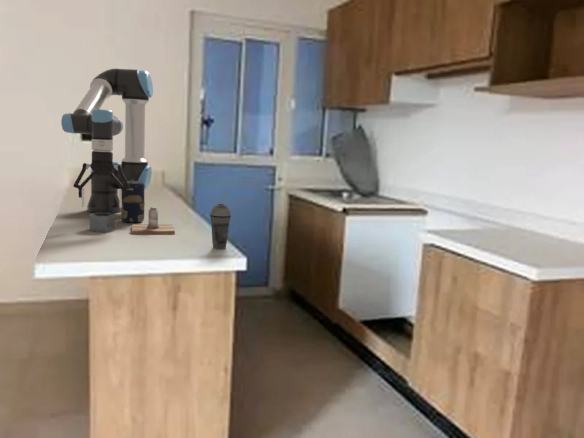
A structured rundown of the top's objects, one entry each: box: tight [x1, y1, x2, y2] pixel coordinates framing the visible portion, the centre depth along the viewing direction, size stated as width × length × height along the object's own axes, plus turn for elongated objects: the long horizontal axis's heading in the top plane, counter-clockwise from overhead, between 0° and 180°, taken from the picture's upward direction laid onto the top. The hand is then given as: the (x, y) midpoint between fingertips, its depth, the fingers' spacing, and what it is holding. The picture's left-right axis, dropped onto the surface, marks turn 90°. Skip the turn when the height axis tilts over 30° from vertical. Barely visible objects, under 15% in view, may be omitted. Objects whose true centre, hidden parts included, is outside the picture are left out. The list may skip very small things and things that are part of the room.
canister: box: [120, 179, 146, 223], centre depth 231 cm, size 10×10×18 cm
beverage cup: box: [209, 191, 232, 250], centre depth 190 cm, size 7×7×20 cm
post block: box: [131, 206, 176, 235], centre depth 215 cm, size 14×16×9 cm
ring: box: [89, 212, 116, 233], centre depth 211 cm, size 9×9×6 cm
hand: (102, 206), depth 209 cm, fingers open, 13 cm apart
